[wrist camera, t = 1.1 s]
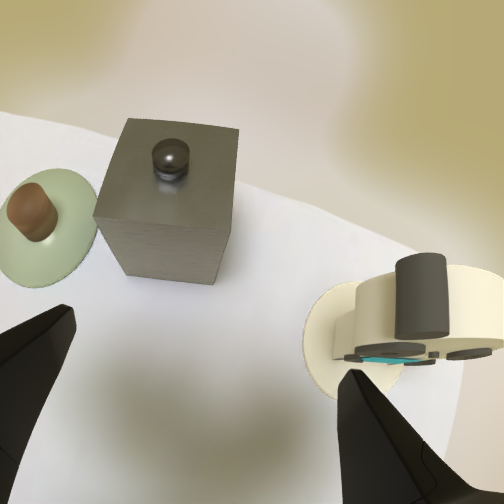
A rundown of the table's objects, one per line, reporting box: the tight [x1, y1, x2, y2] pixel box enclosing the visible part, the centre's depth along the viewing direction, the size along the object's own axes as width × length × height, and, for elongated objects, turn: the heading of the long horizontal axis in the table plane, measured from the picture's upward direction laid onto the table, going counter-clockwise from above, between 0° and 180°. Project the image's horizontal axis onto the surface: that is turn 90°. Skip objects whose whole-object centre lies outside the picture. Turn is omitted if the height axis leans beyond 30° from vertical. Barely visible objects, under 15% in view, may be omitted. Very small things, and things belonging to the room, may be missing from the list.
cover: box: [92, 118, 239, 285], centre depth 19 cm, size 7×7×11 cm
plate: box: [0, 169, 98, 288], centre depth 22 cm, size 12×12×1 cm
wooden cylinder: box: [7, 182, 58, 242], centre depth 20 cm, size 4×4×4 cm
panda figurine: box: [302, 253, 504, 400], centre depth 18 cm, size 12×11×15 cm
